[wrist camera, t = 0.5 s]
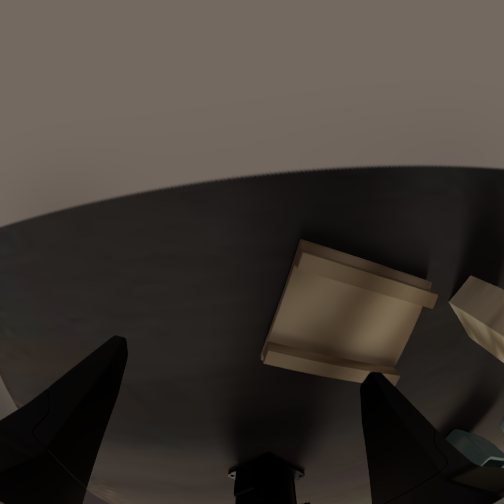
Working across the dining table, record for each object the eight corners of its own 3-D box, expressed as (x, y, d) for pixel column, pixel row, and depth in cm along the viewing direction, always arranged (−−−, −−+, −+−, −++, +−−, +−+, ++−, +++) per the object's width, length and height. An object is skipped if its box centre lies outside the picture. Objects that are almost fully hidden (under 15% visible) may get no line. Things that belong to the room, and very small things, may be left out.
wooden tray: (426, 280, 22) (440, 288, 20) (381, 377, 24) (391, 392, 22) (300, 238, 22) (305, 243, 19) (260, 353, 24) (261, 369, 21)
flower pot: (482, 424, 26) (511, 459, 17) (441, 466, 27) (463, 503, 18) (457, 414, 25) (491, 456, 16) (411, 461, 27) (434, 506, 18)
